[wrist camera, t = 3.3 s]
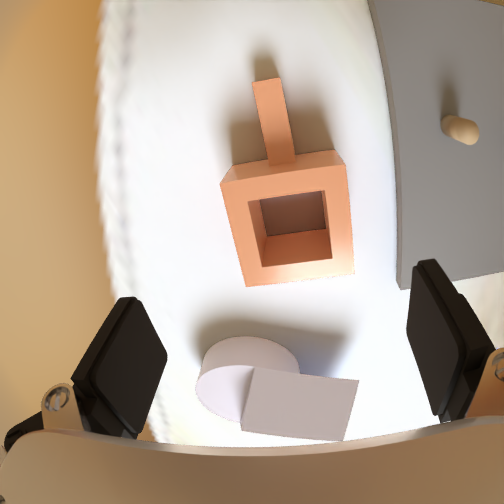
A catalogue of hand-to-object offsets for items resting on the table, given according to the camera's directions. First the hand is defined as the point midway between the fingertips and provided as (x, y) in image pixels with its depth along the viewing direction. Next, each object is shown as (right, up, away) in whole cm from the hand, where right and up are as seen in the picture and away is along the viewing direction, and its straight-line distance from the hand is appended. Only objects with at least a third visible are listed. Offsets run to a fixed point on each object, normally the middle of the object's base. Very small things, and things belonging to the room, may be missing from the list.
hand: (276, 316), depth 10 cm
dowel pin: (+11, +10, +5) cm, 16 cm away
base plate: (+18, +10, +6) cm, 21 cm away
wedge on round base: (+1, -9, +18) cm, 21 cm away
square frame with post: (+1, +7, +9) cm, 12 cm away
